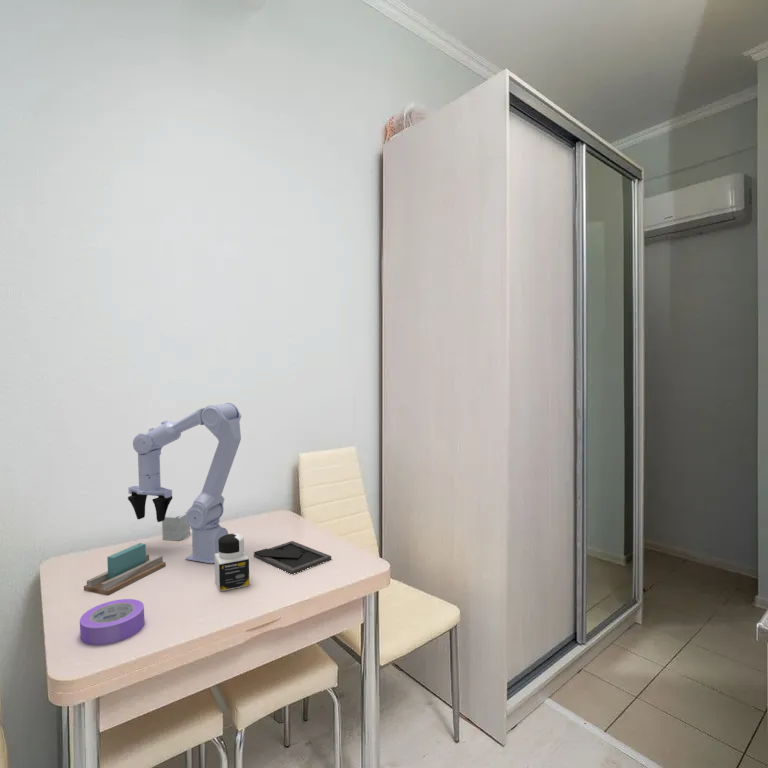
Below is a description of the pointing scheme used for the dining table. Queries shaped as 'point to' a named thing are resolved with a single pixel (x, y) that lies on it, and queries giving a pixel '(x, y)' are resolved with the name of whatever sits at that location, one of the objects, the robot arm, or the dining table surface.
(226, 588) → the medicine bottle
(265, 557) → the picture frame
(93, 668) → the dining table surface
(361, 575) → the dining table surface
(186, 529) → the skincare box
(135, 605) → the masking tape
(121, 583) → the door track
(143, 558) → the door panel
